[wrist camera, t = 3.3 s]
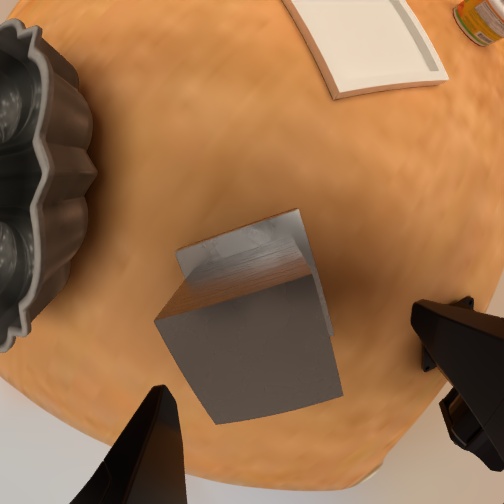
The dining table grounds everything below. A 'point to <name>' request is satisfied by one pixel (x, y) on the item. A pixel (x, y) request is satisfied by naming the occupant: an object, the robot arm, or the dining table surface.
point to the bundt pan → (38, 175)
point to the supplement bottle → (481, 20)
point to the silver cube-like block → (252, 322)
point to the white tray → (367, 45)
